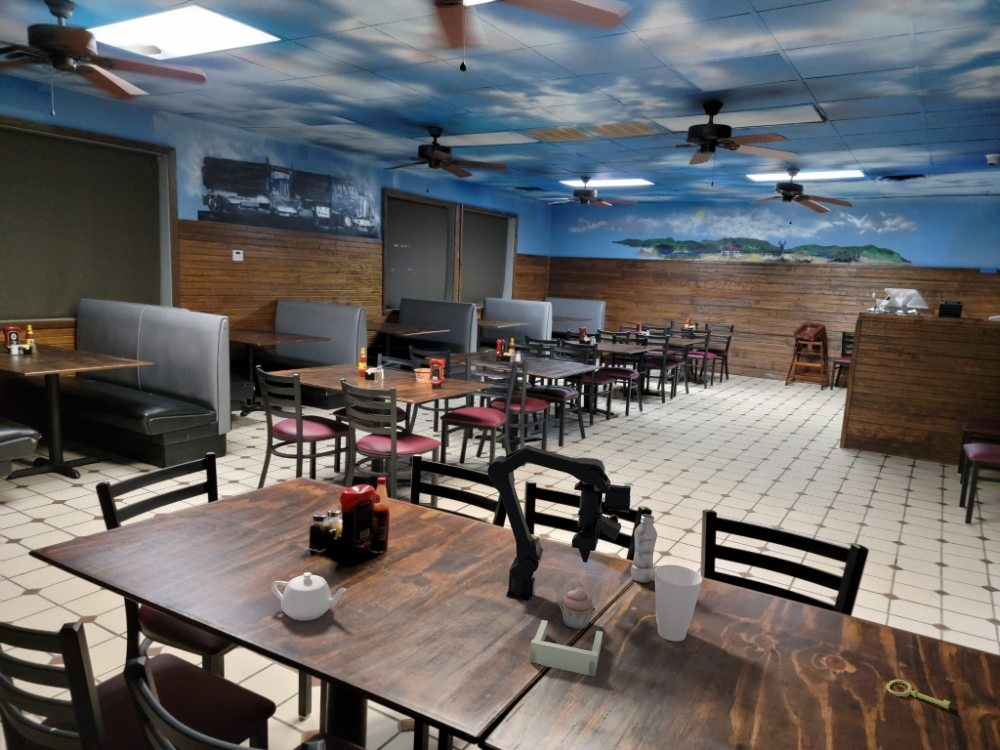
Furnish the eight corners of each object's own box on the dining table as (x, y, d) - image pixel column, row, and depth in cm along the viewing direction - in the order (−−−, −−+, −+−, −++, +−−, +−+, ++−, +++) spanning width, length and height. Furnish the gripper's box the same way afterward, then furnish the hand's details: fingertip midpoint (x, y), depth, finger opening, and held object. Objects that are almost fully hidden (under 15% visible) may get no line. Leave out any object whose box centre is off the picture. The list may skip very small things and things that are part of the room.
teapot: (355, 606, 172) (356, 569, 171) (334, 631, 160) (335, 591, 159) (284, 594, 176) (284, 558, 174) (258, 617, 164) (258, 578, 162)
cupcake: (573, 610, 178) (576, 575, 177) (601, 624, 172) (604, 588, 170) (549, 621, 172) (553, 585, 170) (578, 637, 165) (581, 599, 164)
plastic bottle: (652, 586, 195) (660, 521, 192) (629, 583, 196) (636, 518, 193) (652, 577, 201) (659, 514, 198) (629, 573, 202) (636, 511, 199)
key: (950, 715, 145) (952, 706, 145) (885, 695, 150) (887, 686, 150) (946, 697, 151) (948, 689, 151) (884, 679, 157) (885, 671, 156)
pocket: (529, 662, 153) (531, 642, 152) (540, 632, 166) (542, 614, 165) (594, 676, 149) (596, 655, 148) (601, 645, 162) (603, 626, 161)
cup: (696, 628, 173) (703, 570, 171) (694, 651, 162) (701, 589, 160) (650, 617, 177) (656, 560, 175) (644, 639, 166) (651, 579, 163)
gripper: (617, 523, 167) (612, 582, 169) (623, 500, 185) (618, 553, 187) (573, 516, 170) (568, 574, 172) (583, 494, 188) (578, 546, 190)
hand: (585, 561), depth 180 cm, fingers closed
